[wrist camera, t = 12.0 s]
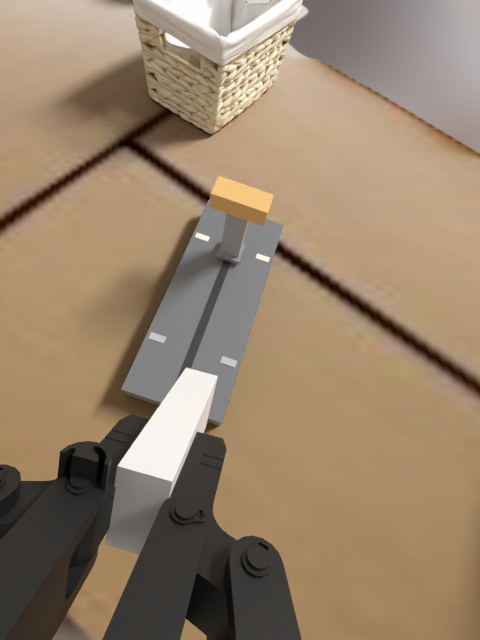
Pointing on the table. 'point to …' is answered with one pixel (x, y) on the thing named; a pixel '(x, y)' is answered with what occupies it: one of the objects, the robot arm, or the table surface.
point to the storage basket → (212, 54)
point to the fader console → (205, 314)
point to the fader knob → (238, 214)
